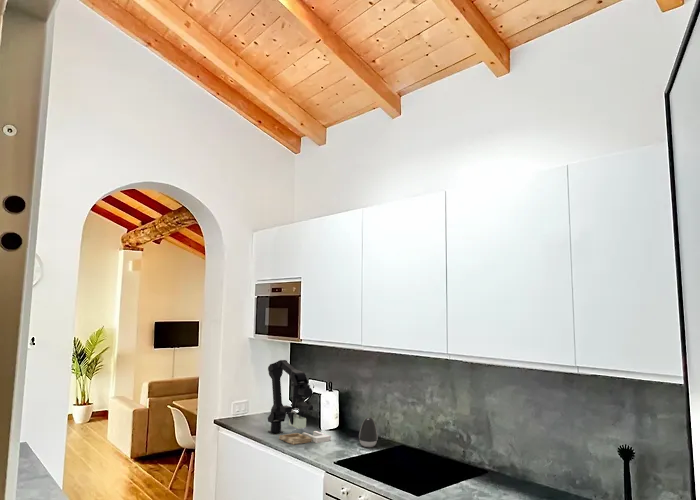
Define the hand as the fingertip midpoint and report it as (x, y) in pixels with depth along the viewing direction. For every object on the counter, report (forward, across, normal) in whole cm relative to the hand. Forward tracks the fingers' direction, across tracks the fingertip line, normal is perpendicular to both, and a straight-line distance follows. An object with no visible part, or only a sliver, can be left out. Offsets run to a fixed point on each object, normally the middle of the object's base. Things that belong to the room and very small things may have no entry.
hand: (296, 423), depth 285 cm
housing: (+9, +12, -2) cm, 15 cm away
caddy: (+1, 0, 0) cm, 1 cm away
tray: (+9, 0, 0) cm, 9 cm away
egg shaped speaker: (+9, +28, -29) cm, 41 cm away
